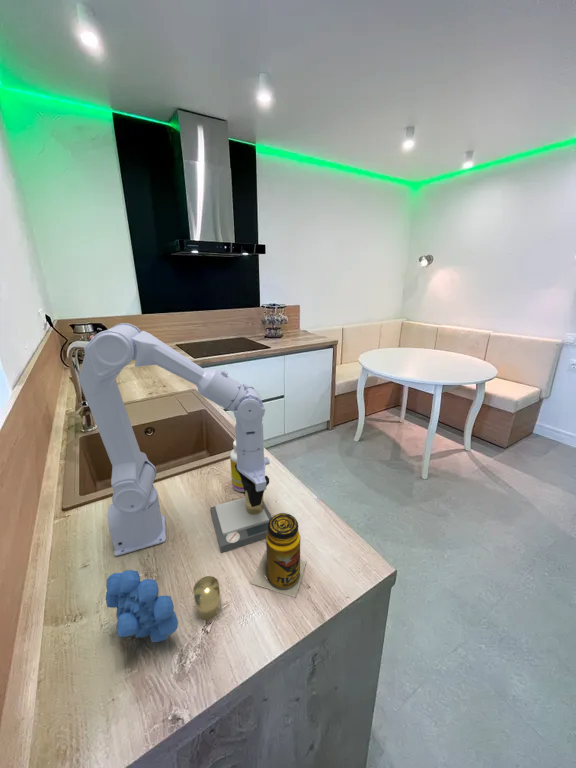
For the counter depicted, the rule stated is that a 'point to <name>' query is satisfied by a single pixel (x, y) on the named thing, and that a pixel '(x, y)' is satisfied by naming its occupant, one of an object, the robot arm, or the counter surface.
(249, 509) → the cylinder
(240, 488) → the supplement bottle
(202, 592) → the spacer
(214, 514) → the scale
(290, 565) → the condiment
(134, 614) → the grapes
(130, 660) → the counter surface
